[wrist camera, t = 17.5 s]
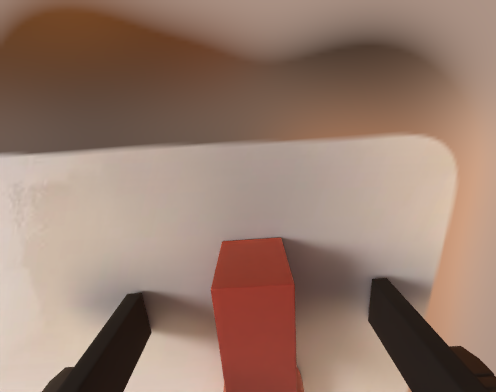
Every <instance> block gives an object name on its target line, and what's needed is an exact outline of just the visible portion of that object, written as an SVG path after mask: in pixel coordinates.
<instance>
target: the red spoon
mask: <svg viewBox="0 0 496 392" xmlns="http://www.w3.org/2000/svg"><path fill="white" fill-rule="evenodd" d="M211 295H212V301H213V308H214V315H215V322H216V328H217V335H218V342H219V349H220V355H221V362H222V369H223V376H224V391H223V392H304V388H303V383H302V378H301V374H300V372H299V370H298V368H297V367H296V323H295V284H294V280H293V277H292V273H291V270H290V266H289V263H288V259H287V256H286V252H285V249H284V245H283V242H282V239H281V238H266V239H251V240H236V241H223V242H222V244H221V249H220V253H219V257H218V261H217V266H216V270H215V274H214V278H213V283H212V287H211Z"/></svg>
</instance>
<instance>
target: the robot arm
mask: <svg viewBox="0 0 496 392" xmlns="http://www.w3.org/2000/svg"><path fill="white" fill-rule="evenodd" d="M368 321H369V323H370V324H371V326H372V327H373V329H374V331H375V332H376V334H377V336H378V337H379V339H380V340H381V342H382V344H383V345H384V347H385V349H386V350H387V352H388V354H389V355H390V357H391V358H392V360H393V362H394V363H395V365H396V367H397V368H398V370H399V371H400V373H401V375H402V376H403V378H404V380H405V381H406V383H407V385H408V386H409V388H410V389H411V391H412V392H496V377H495V376H494V374H493V372H492V371H491V370H490V369H489V368H488V367H487V366H486V365H485V364H484V363H483V362H482V361H481V360H480V359H479V358H477V357H476V356H474V355H473V354H472V353H470V352H469V351H467V350H466V349H464V348H463V347H461V346H452V347H449V346H448V345H447V344H446V343H445V342H444V341H443V339H442V338H441V337H440V336H439V335H438V334H437V333H436V332H435V331H434V330H433V328H431V326H430V325H429V324H428V323H427V322H426V321H425V320H424V319H423V317H422V316H421V315H420V314H419V313H418V312H417V311H416V310H415V309H414V307H413V306H412V305H411V304H410V303H409V302H408V301H407V300H406V299H405V298H404V296H403V295H402V294H401V293H400V292H399V291H398V290H397V289H396V288H395V287H394V285H393V284H392V283H391V282H390V281H389V280H388V279H387V278H380V279H372V286H371V297H370V308H369V319H368ZM150 335H151V329H150V325H149V321H148V317H147V313H146V309H145V305H144V301H143V297H142V293H135V294H127V295H126V297H125V298H124V300H123V301H122V302H121V304H120V305H119V306H118V308H117V309H116V310H115V312H114V313H113V315H112V316H111V317H110V319H109V320H108V321H107V323H106V324H105V326H104V327H103V328H102V330H101V331H100V332H99V334H98V335H97V337H96V338H95V339H94V341H93V342H92V343H91V345H90V346H89V347H88V349H87V350H86V352H85V353H84V354H83V356H82V357H81V358H80V360H79V361H78V363H77V364H76V365H75V367H66V368H64V369H63V370H62V371H61V372H60V373H59V374H58V375H56V376H55V377H54V378H53V379H52V380H51V381H50V382H49V383H48V385H47V386H46V387H45V388H44V390H43V391H42V392H123V391H124V389H125V387H126V385H127V383H128V381H129V379H130V377H131V375H132V372H133V370H134V368H135V366H136V364H137V362H138V360H139V358H140V356H141V354H142V351H143V349H144V347H145V345H146V343H147V341H148V339H149V337H150Z"/></svg>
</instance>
